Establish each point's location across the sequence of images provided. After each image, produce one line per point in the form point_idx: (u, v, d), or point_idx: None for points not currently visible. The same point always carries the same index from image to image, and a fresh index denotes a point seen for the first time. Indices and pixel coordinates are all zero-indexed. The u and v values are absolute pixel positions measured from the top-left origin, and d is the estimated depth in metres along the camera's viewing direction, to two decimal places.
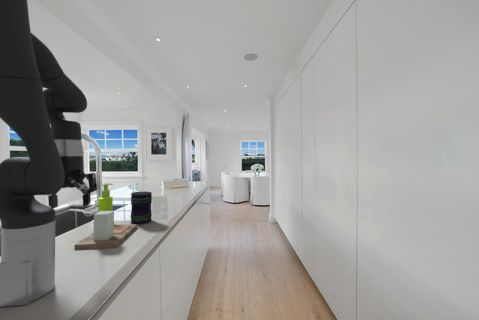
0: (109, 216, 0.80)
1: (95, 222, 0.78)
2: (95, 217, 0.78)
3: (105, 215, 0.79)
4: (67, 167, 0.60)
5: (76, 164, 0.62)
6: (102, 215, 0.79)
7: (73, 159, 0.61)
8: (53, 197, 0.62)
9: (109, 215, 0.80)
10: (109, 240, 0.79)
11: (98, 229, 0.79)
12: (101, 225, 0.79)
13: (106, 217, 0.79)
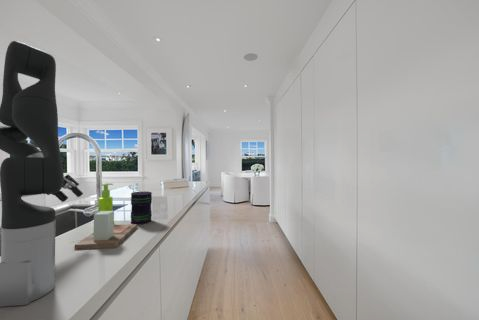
0: (109, 216, 0.80)
1: (95, 222, 0.78)
2: (95, 217, 0.78)
3: (105, 215, 0.79)
4: None
5: None
6: (102, 215, 0.79)
7: None
8: None
9: (109, 215, 0.80)
10: (109, 240, 0.79)
11: (98, 229, 0.79)
12: (101, 225, 0.79)
13: (106, 217, 0.79)
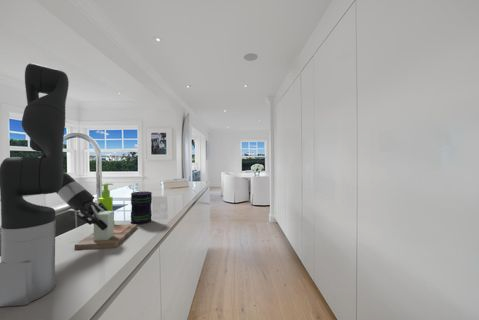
0: (109, 216, 0.80)
1: None
2: None
3: (105, 215, 0.79)
4: (92, 195, 0.82)
5: None
6: (102, 215, 0.79)
7: None
8: None
9: (109, 215, 0.80)
10: (109, 240, 0.79)
11: (98, 229, 0.79)
12: None
13: (106, 217, 0.79)
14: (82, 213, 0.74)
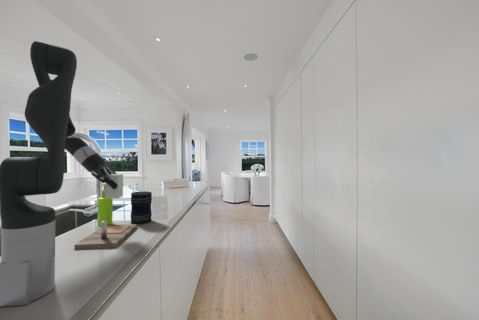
0: (119, 177, 0.89)
1: None
2: None
3: (115, 176, 0.87)
4: (103, 159, 0.90)
5: None
6: (113, 176, 0.87)
7: None
8: None
9: (119, 176, 0.89)
10: (109, 240, 0.79)
11: (109, 188, 0.87)
12: None
13: (116, 178, 0.88)
14: (96, 172, 0.83)
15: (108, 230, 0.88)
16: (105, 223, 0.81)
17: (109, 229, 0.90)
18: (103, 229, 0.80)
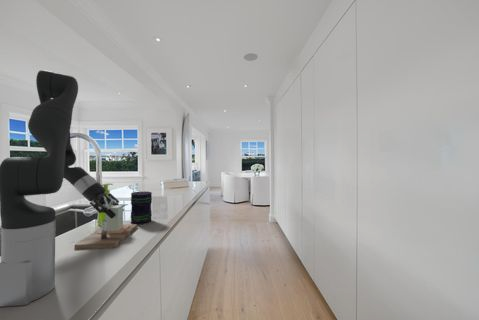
0: (119, 209, 0.89)
1: (107, 215, 0.87)
2: None
3: (115, 208, 0.88)
4: None
5: None
6: (113, 208, 0.88)
7: None
8: None
9: (119, 208, 0.89)
10: (109, 240, 0.79)
11: (109, 221, 0.87)
12: None
13: (116, 210, 0.88)
14: (94, 201, 0.83)
15: None
16: (105, 223, 0.81)
17: None
18: (103, 229, 0.80)
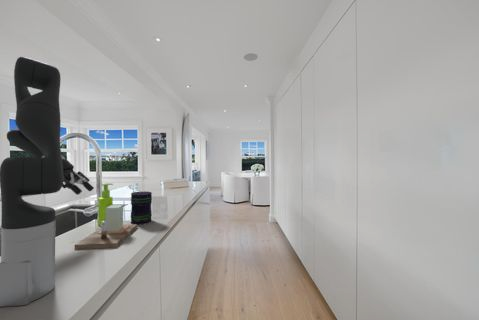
0: (119, 209, 0.89)
1: (107, 215, 0.87)
2: (107, 210, 0.87)
3: (116, 208, 0.88)
4: None
5: None
6: (113, 208, 0.88)
7: None
8: None
9: (119, 209, 0.89)
10: (109, 240, 0.79)
11: (109, 221, 0.87)
12: (112, 217, 0.87)
13: (116, 210, 0.88)
14: None
15: None
16: (105, 223, 0.81)
17: None
18: (103, 229, 0.80)
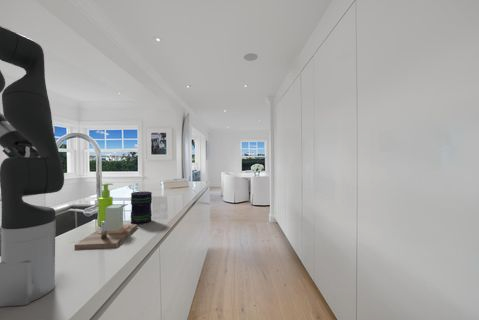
0: (119, 209, 0.89)
1: (107, 215, 0.87)
2: (107, 210, 0.87)
3: (116, 208, 0.88)
4: None
5: None
6: (113, 208, 0.88)
7: None
8: None
9: (119, 209, 0.89)
10: (109, 240, 0.79)
11: (109, 221, 0.87)
12: (112, 217, 0.87)
13: (116, 210, 0.88)
14: (8, 148, 0.68)
15: None
16: (105, 223, 0.81)
17: None
18: (103, 229, 0.80)
